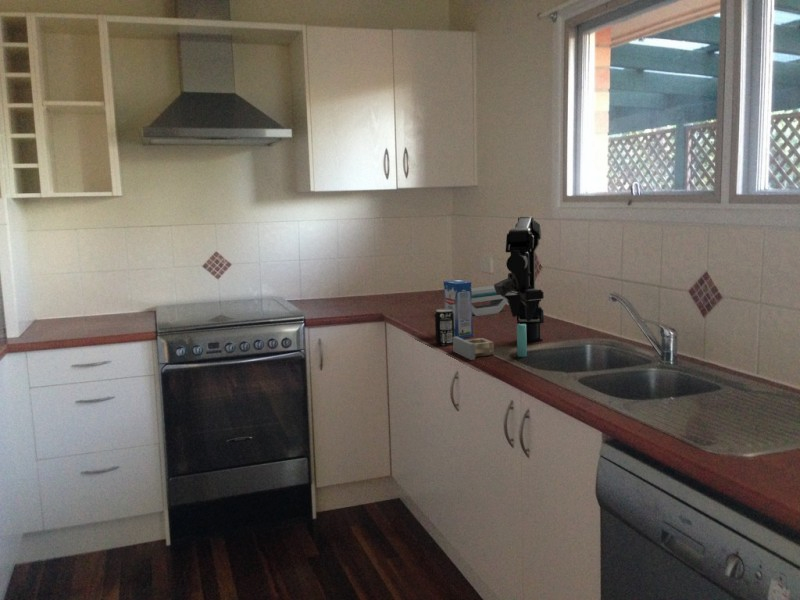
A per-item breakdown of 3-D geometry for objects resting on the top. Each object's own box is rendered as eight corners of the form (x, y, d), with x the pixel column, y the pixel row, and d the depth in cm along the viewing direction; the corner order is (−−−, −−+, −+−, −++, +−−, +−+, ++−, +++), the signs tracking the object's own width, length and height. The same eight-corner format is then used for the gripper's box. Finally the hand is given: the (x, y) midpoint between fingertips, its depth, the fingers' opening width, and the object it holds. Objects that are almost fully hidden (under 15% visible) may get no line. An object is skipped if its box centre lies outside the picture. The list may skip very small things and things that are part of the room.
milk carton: (445, 334, 271) (443, 281, 268) (460, 332, 273) (458, 279, 270) (457, 338, 262) (456, 283, 259) (473, 336, 264) (471, 282, 261)
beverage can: (443, 341, 259) (442, 308, 257) (458, 342, 254) (457, 309, 253) (432, 344, 254) (430, 310, 252) (447, 346, 249) (446, 312, 248)
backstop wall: (457, 351, 242) (457, 336, 241) (475, 359, 228) (474, 343, 228) (453, 351, 241) (452, 336, 240) (470, 359, 228) (470, 344, 227)
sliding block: (483, 349, 241) (482, 337, 241) (493, 354, 234) (493, 342, 233) (461, 352, 239) (460, 340, 238) (471, 357, 231) (470, 344, 231)
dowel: (524, 354, 232) (523, 323, 231) (528, 356, 229) (528, 325, 228) (515, 355, 231) (515, 324, 230) (520, 357, 228) (519, 326, 227)
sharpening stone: (462, 317, 305) (461, 292, 303) (453, 315, 311) (452, 290, 310) (511, 311, 315) (511, 286, 314) (501, 308, 322) (500, 284, 321)
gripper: (483, 269, 233) (485, 317, 235) (510, 274, 215) (512, 326, 217) (515, 266, 236) (516, 313, 238) (544, 271, 219) (545, 322, 221)
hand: (521, 318), depth 229 cm, fingers open, 9 cm apart
